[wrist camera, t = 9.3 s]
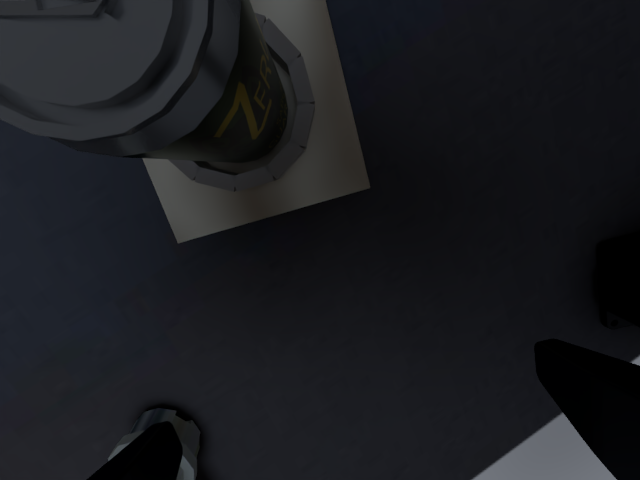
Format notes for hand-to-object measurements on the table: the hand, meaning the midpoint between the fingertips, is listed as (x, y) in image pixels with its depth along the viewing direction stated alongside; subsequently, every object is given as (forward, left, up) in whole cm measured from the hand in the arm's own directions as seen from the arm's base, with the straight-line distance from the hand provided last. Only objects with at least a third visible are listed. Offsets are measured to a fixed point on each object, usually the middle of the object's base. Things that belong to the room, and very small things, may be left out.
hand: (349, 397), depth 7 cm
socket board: (+2, -9, -13) cm, 16 cm away
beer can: (+2, -9, -12) cm, 15 cm away
